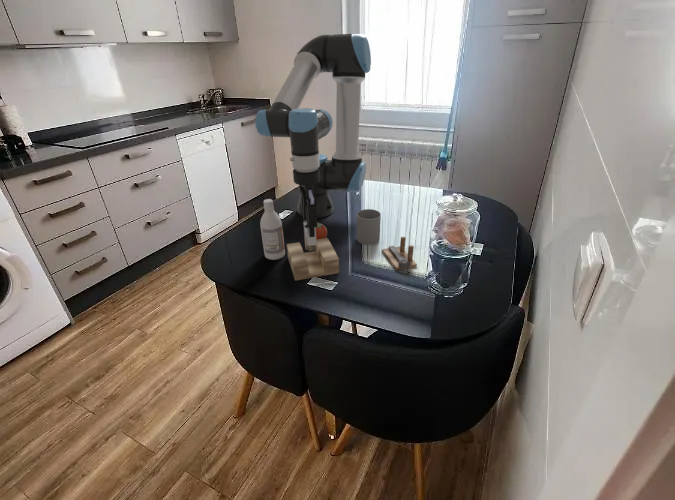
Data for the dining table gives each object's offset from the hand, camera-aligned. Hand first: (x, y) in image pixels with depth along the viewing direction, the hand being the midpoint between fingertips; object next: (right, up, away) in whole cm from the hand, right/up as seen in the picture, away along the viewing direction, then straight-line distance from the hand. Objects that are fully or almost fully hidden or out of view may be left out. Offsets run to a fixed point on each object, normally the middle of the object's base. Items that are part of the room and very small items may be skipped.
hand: (310, 241), depth 113 cm
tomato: (+1, 0, +18) cm, 19 cm away
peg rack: (+29, -6, +7) cm, 30 cm away
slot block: (0, -7, +5) cm, 9 cm away
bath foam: (-13, -4, +11) cm, 17 cm away
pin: (0, -2, +1) cm, 2 cm away
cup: (+19, +1, +19) cm, 27 cm away
